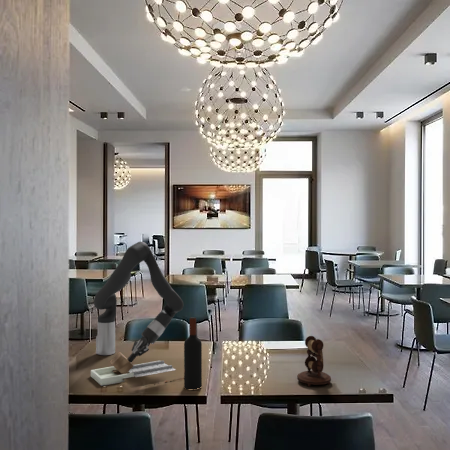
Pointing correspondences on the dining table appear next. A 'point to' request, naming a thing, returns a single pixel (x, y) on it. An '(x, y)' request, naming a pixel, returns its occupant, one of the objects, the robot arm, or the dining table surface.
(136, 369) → the slot plate
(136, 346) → the robot arm
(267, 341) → the dining table surface
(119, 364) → the block
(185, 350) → the wine bottle
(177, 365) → the dining table surface
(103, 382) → the tray
